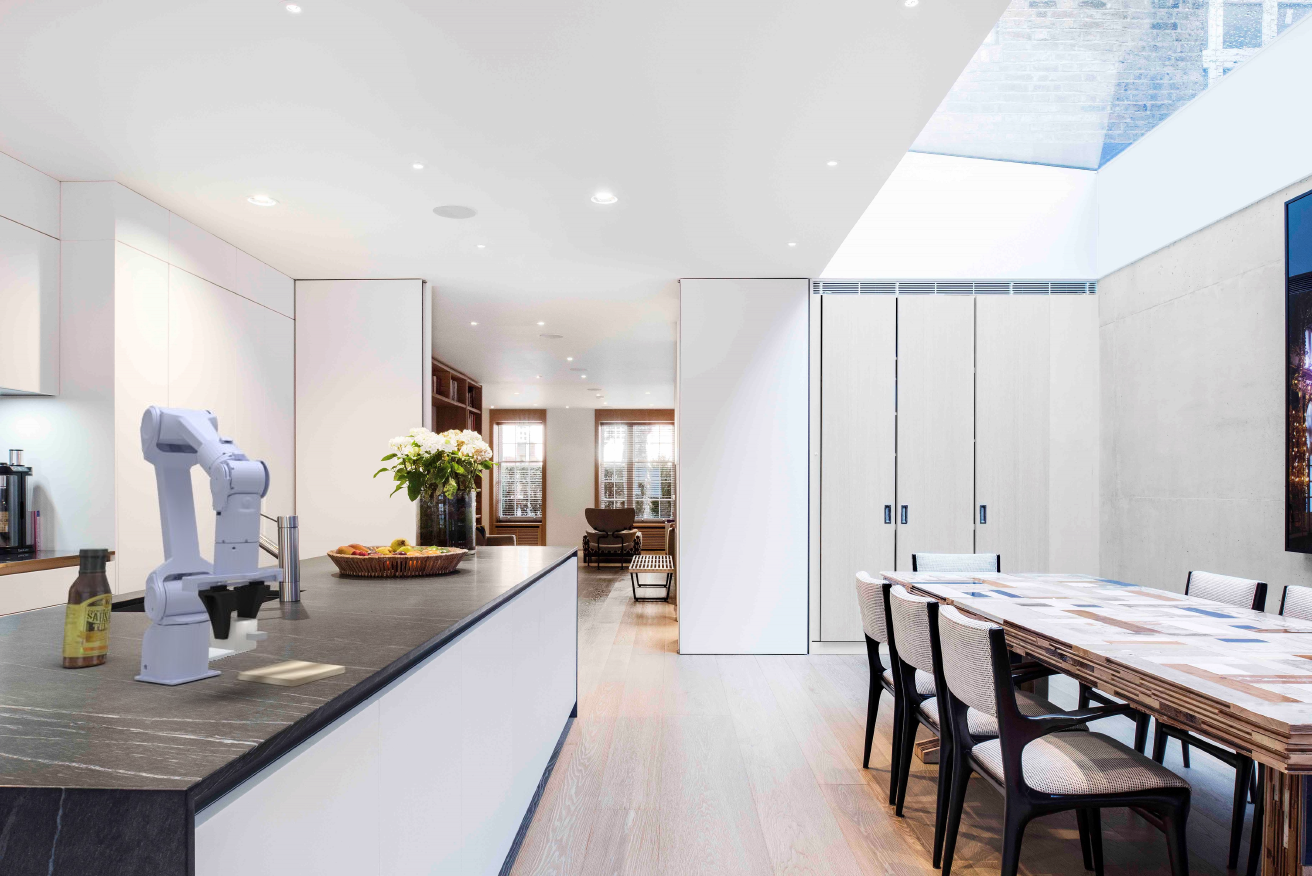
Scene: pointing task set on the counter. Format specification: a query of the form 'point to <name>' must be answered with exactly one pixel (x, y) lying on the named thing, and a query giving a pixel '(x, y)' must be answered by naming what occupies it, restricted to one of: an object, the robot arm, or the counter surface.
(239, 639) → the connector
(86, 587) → the sauce bottle
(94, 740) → the counter surface
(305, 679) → the birch board
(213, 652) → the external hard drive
